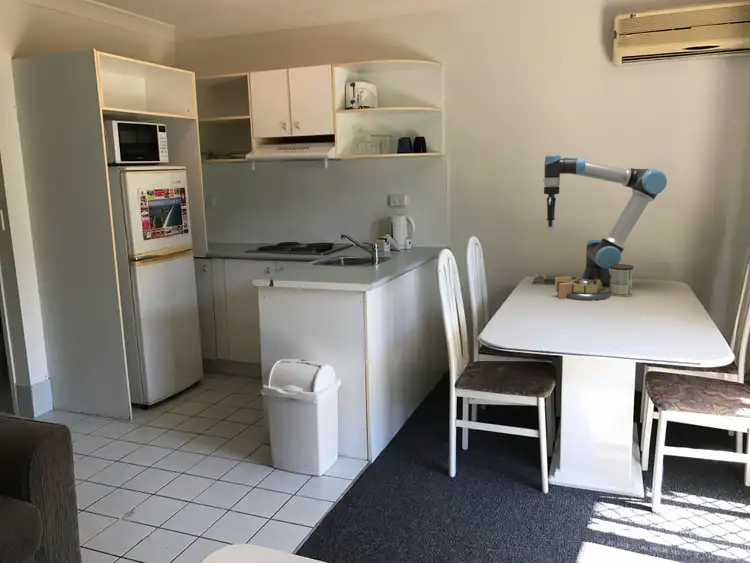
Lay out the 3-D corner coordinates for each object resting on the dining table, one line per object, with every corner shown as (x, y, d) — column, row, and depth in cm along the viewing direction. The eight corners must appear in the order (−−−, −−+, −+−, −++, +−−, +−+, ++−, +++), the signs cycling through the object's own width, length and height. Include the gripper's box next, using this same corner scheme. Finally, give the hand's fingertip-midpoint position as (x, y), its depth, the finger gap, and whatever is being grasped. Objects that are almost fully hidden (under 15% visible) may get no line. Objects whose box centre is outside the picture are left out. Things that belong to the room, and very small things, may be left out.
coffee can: (606, 291, 311) (608, 264, 308) (628, 291, 310) (629, 264, 307) (612, 296, 301) (614, 267, 298) (634, 296, 300) (636, 267, 297)
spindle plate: (599, 289, 317) (599, 275, 315) (618, 299, 293) (619, 285, 292) (552, 290, 316) (552, 276, 315) (567, 301, 293) (568, 286, 291)
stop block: (568, 296, 302) (568, 282, 301) (571, 297, 300) (572, 283, 299) (558, 297, 300) (559, 283, 298) (561, 298, 298) (562, 284, 296)
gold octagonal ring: (592, 286, 312) (593, 272, 311) (606, 293, 298) (607, 278, 296) (549, 288, 310) (550, 274, 309) (561, 294, 296) (562, 280, 294)
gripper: (546, 185, 319) (544, 231, 324) (542, 186, 308) (540, 234, 312) (561, 185, 316) (559, 231, 321) (557, 186, 305) (556, 234, 309)
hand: (550, 232), depth 317 cm, fingers closed
